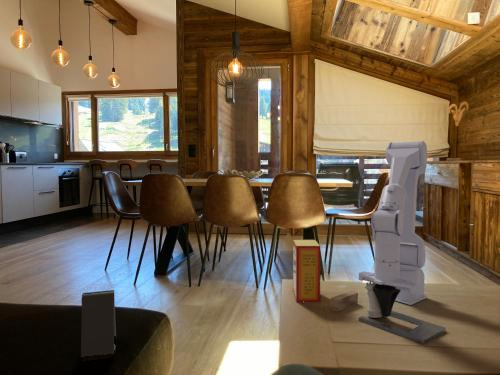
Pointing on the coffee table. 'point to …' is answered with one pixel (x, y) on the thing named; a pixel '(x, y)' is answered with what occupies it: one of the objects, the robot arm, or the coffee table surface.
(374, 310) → the rook chess piece
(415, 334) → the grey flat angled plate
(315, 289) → the baking soda box
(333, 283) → the coffee table surface
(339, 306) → the stop block
